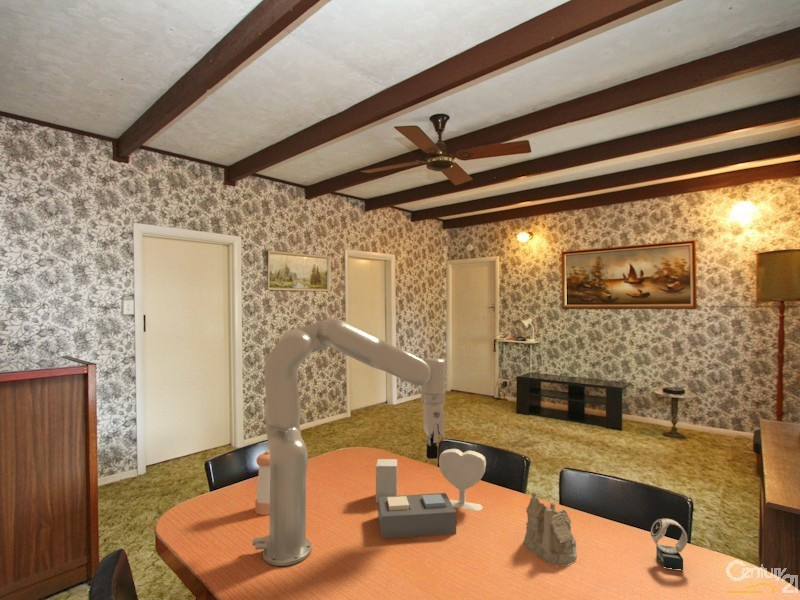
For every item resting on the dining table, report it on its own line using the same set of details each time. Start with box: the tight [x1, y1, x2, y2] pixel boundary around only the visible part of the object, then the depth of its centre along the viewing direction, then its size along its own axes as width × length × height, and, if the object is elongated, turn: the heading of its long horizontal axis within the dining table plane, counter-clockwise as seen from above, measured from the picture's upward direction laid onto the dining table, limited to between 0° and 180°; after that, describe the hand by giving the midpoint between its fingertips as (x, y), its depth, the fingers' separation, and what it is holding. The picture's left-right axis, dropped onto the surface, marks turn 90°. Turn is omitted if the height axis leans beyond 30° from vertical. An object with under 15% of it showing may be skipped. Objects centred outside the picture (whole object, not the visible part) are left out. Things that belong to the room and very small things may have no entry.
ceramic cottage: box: [523, 491, 578, 567], centre depth 116 cm, size 16×16×15 cm
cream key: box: [387, 495, 409, 511], centre depth 127 cm, size 6×6×5 cm
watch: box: [650, 518, 688, 571], centre depth 108 cm, size 6×8×11 cm
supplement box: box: [375, 458, 398, 504], centre depth 145 cm, size 7×7×13 cm
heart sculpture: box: [438, 448, 487, 512], centre depth 141 cm, size 16×5×18 cm, turn 70°
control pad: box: [377, 492, 457, 540], centre depth 127 cm, size 22×13×6 cm, turn 98°
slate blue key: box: [422, 493, 445, 509], centre depth 128 cm, size 6×6×5 cm
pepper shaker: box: [254, 450, 270, 516], centre depth 137 cm, size 7×7×19 cm
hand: (431, 457), depth 128 cm, fingers closed
